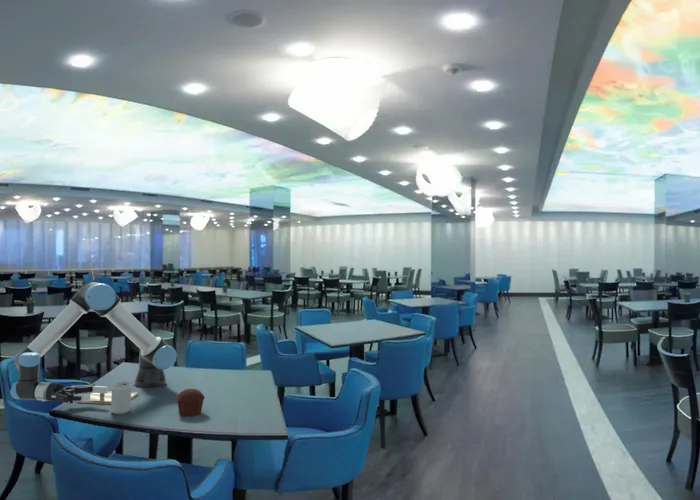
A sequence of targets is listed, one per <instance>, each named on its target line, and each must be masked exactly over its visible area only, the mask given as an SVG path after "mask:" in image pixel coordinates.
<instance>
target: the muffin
mask: <svg viewBox="0 0 700 500" xmlns="http://www.w3.org/2000/svg"><path fill="white" fill-rule="evenodd" d="M204 400H205V396H204V393H203V392H202V391H200V390H198V389H197V388H187V389H185V388H184V389H183V390H182V391H180V392H179V393H178V394H177V395H176V398H175V401H177V407H178V408H177V409H178V414H179V416H180V417H185V418H186V417H188V418H190V417H191V418H192V417H196V416H199V415H201V414H202V411H203V404H204Z"/></svg>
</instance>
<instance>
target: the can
mask: <svg viewBox="0 0 700 500" xmlns="http://www.w3.org/2000/svg"><path fill="white" fill-rule="evenodd" d="M111 391H112V398H111V404H110V412H111V413H113V414H114V415H124V414H128V413H129V412H130V410H131V404H132V399H131V392H132V385H131V384H130V382H128V381H120V382H119V381H118V382H114V384H113V386H112V387H111Z"/></svg>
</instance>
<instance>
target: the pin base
mask: <svg viewBox="0 0 700 500" xmlns="http://www.w3.org/2000/svg"><path fill="white" fill-rule="evenodd" d="M88 395H90V402H79V401H76V403H77V404H95V405H96V404H99V405H111V398H112V390H111V391H109V390H108V393H92V392H90V393H89V394H88ZM138 396H139V392H132V391H131V400H132V399H134V398H136V397H138Z"/></svg>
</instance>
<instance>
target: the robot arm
mask: <svg viewBox="0 0 700 500" xmlns="http://www.w3.org/2000/svg"><path fill="white" fill-rule="evenodd" d="M121 300H122V298H120V297H119V295H117V294H116V292H115V290H114V289H113V287H112V286H110V285H109V284H106V283H103V282H96V281H91V282H87V283H86V284H84V285H83V286H82V287H81V288H79V290H78V291H77V292H76V293H75V294H74V295H73V297H71V298H70V299H69V304H68V305H67V306H65V308H64V309H63V310H62V311H61V312H60V313H59V314H58V315H57V316H55V318H54V319H52V321H51V322H50V323H49V324H48V325H47V326H46V327H45V328H44V329H43V330H42V331H41V332H40V333H39V334H38V335H37V336H36V337H35V338H34V339H33V340H32V341H31V342H30V343H29V344H28V345H27V347H25V348H24V349H23V350H22V351H21V352H19V353H17V354H16V355H15V356H14V358H13V365H14V367H15V368H16V369H17V370H18V378H17V381H15V382H14V383H12V384H11V389H10V396H11V398H13V399H14V400H22V401H41V402H42V403H44V402H61V403H62V402H63V403H67V404H68V403H69V404H73V403H74V402H77V401H79V402H90V395H89V394H87V393H108V391H109V386H101V385H96V384H95V383H92V384H84V385H70V386H64V385H63V383H61V382H47V381H46V382H45V381H40V367H41V366H40V365H41V359H42V357H43V356H44V355H45V354H46V353H47V352H48V351H49V350H50V349H51V348H52V347H53V346H54V344H56V343H57V342H58V340H59V339H60V338H62V337H63V335H64V334H66V333H67V331H68V330H69V329H70V328H71V327H72V326H73V325H74V324H75V323H76V322H77V321H78V320H79V319H80V318H81V316H82V315H84V314H88V313H89V312H90V311H91V310H92V311H94V312H95V313H96V314H97V315H98V316H99V317H100V318H101V317H102V318H107V319H108V320H109V322H111V324H113V325H114V326H115V327H116V328H117V329H118V330H119V331H120V332H122V334H124V335H125V336H126V337H127V338H128V339H129V340H130V341H131V342H132V343H133V344H134V345H135V346H136V347H137V348H139V355H138V356H139V357H138V371H137V374H136V375H135V379H134V386H135V387H140V388H155V387H161V386H164V385H165V384H167V376H166V374H165V371H164V370H168V369H169V368H171V367H172V366H173V365H174V364H175V362H176V360H177V355H178V354H177V351H176V349H175V348H174V347H173V346H171V345H170V344H168V343H167V342H166V341H165V339H164V338H163V337H160V336H155V335H154V334H152V332H151V331H150V330H148V328H146V326H144V324H143V323H142V322H141V321H139V320H138V319H137V318H136V317H135V316H134V315H133V314H132V313H131V312H130V311H129V310H128V309H127V308H126V307H125V306H124V305H123V304H122V303H121Z"/></svg>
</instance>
